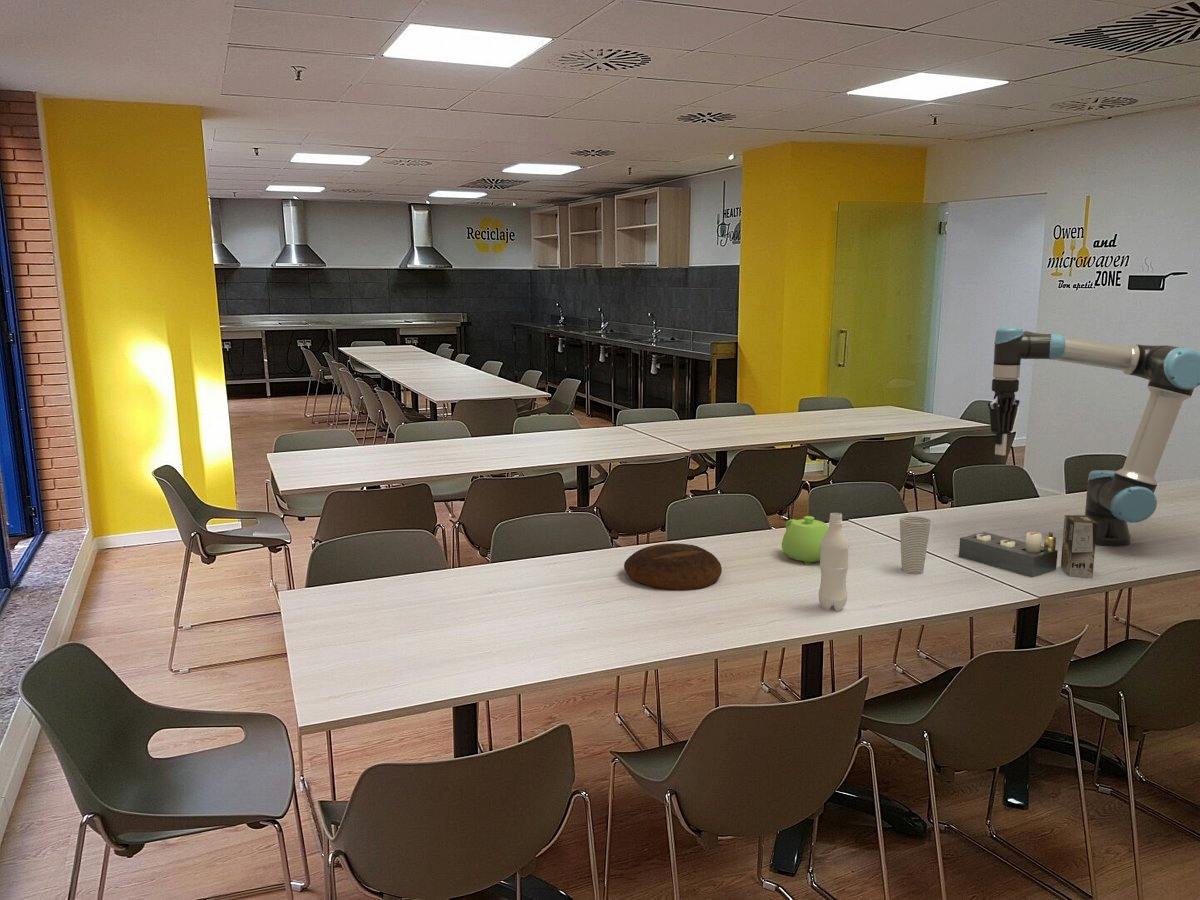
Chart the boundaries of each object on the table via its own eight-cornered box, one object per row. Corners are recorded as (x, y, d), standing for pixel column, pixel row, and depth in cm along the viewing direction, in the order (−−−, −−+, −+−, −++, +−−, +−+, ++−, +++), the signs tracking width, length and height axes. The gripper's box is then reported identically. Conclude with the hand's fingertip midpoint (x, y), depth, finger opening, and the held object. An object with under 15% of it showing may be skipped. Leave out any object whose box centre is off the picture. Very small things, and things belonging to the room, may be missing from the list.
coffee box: (1093, 578, 254) (1098, 523, 251) (1068, 576, 256) (1073, 522, 253) (1083, 568, 263) (1088, 514, 260) (1059, 567, 264) (1064, 514, 261)
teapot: (855, 564, 269) (856, 521, 266) (819, 572, 261) (820, 529, 259) (802, 546, 287) (803, 507, 285) (767, 554, 279) (768, 513, 277)
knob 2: (1004, 559, 271) (1005, 538, 270) (1016, 563, 268) (1018, 541, 266) (996, 562, 269) (997, 540, 268) (1008, 565, 265) (1010, 543, 264)
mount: (982, 550, 281) (983, 531, 280) (1056, 570, 261) (1057, 550, 260) (958, 556, 275) (959, 537, 274) (1032, 577, 255) (1033, 557, 254)
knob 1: (980, 553, 277) (982, 532, 276) (992, 556, 274) (993, 535, 273) (972, 555, 275) (974, 534, 274) (984, 558, 272) (985, 537, 271)
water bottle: (814, 603, 236) (817, 511, 232) (840, 602, 237) (844, 510, 232) (823, 612, 229) (827, 518, 225) (850, 611, 230) (854, 517, 225)
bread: (608, 569, 267) (608, 541, 265) (687, 556, 278) (687, 529, 277) (654, 598, 242) (654, 567, 240) (739, 583, 253) (739, 553, 251)
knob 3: (1030, 552, 263) (1031, 530, 262) (1043, 555, 260) (1044, 533, 259) (1022, 554, 261) (1023, 532, 260) (1034, 558, 258) (1036, 535, 257)
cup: (927, 567, 264) (930, 517, 262) (928, 576, 257) (931, 524, 254) (897, 565, 267) (899, 514, 264) (896, 573, 259) (899, 522, 257)
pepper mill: (1047, 547, 263) (1048, 530, 262) (1057, 550, 260) (1058, 533, 259) (1041, 549, 261) (1043, 532, 260) (1051, 552, 259) (1053, 534, 258)
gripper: (1007, 376, 279) (1001, 450, 284) (981, 378, 272) (976, 455, 277) (1029, 378, 273) (1023, 454, 277) (1004, 380, 266) (998, 458, 271)
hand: (1000, 454), depth 277 cm, fingers closed
